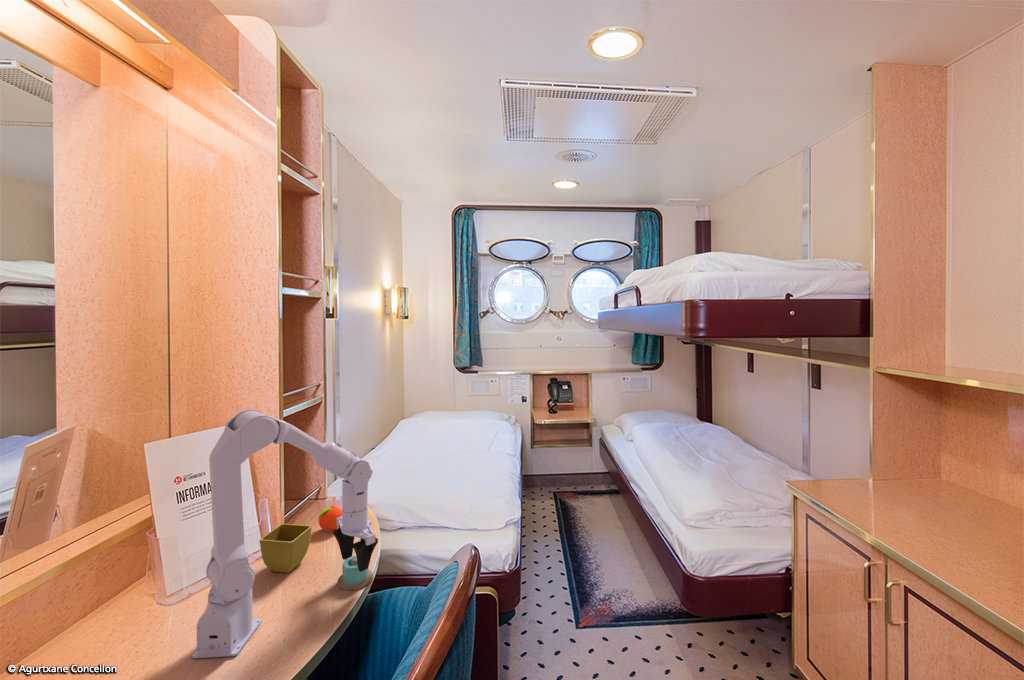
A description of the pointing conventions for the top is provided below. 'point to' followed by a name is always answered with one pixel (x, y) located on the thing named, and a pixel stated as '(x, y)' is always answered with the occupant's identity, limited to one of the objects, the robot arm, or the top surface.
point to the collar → (353, 573)
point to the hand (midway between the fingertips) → (355, 563)
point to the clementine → (329, 518)
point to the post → (358, 586)
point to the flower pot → (285, 546)
